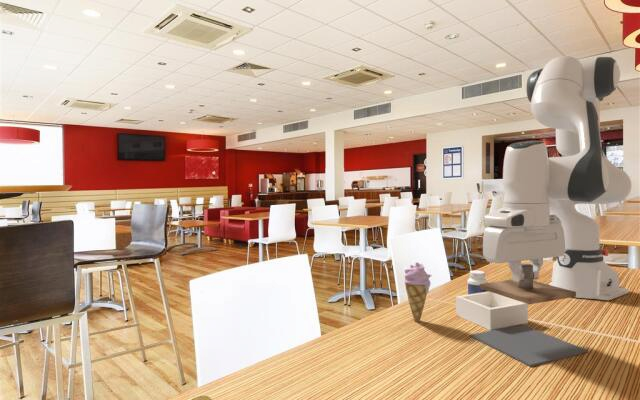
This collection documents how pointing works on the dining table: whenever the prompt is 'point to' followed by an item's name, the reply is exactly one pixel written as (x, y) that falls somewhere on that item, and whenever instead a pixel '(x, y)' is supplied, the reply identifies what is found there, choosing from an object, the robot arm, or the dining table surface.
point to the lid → (527, 289)
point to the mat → (528, 345)
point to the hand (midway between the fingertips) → (525, 279)
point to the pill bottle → (476, 282)
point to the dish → (491, 310)
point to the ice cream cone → (417, 289)
